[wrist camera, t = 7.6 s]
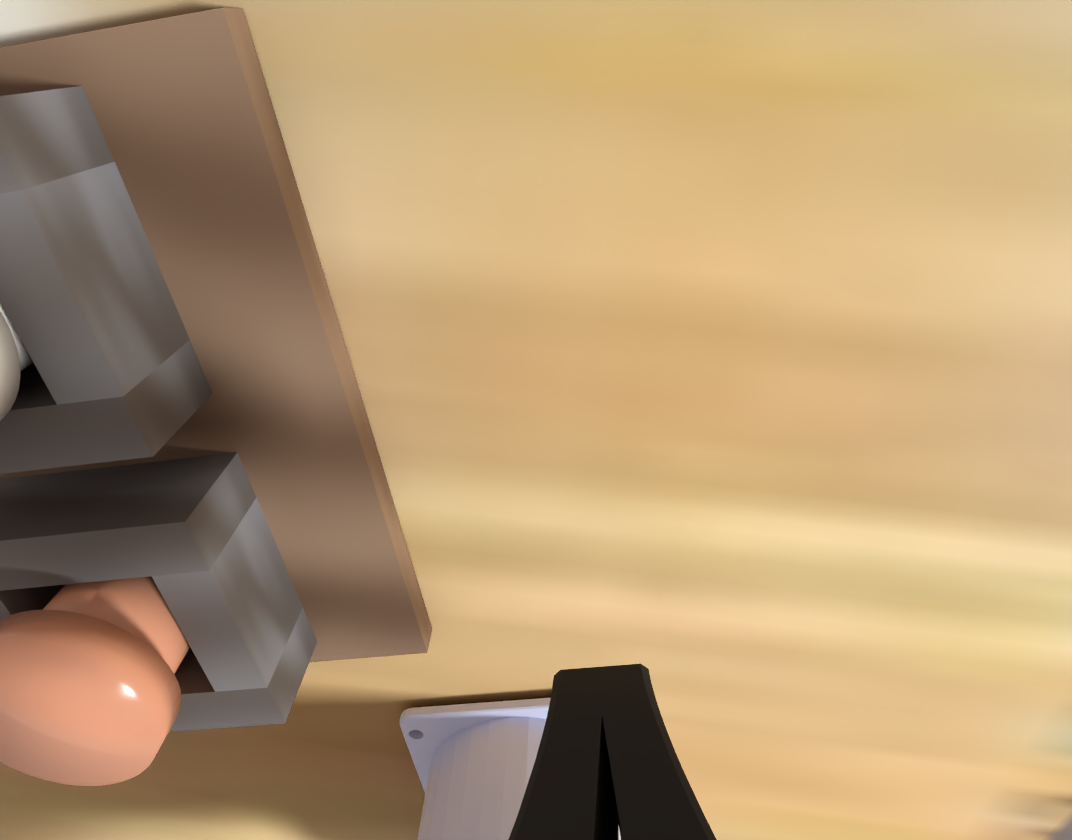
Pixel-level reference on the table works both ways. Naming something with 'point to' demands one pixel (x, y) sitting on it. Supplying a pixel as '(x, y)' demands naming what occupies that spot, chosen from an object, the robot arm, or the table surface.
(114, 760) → the rust plunger
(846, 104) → the table surface
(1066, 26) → the table surface
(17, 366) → the pale plunger
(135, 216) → the board
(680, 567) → the table surface
